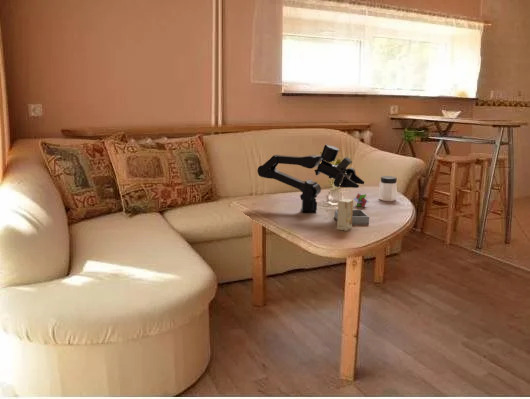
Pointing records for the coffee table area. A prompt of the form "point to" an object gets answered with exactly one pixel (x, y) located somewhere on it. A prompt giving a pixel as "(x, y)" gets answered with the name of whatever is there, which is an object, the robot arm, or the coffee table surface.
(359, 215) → the tray
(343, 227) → the skincare box
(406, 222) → the coffee table surface
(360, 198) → the geometric puzzle
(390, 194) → the jar
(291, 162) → the robot arm
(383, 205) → the coffee table surface
